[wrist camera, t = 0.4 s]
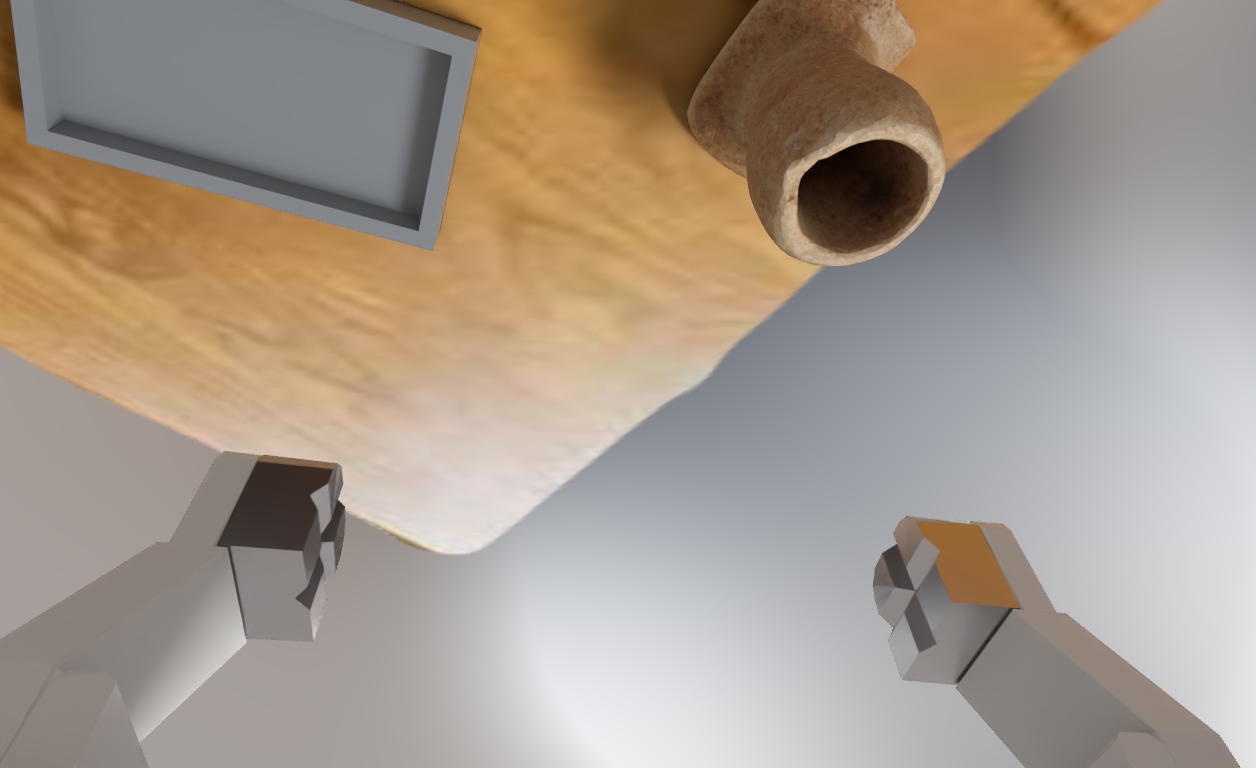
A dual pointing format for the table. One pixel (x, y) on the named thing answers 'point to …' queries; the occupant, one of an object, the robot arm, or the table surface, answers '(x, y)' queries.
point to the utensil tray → (259, 100)
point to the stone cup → (823, 126)
